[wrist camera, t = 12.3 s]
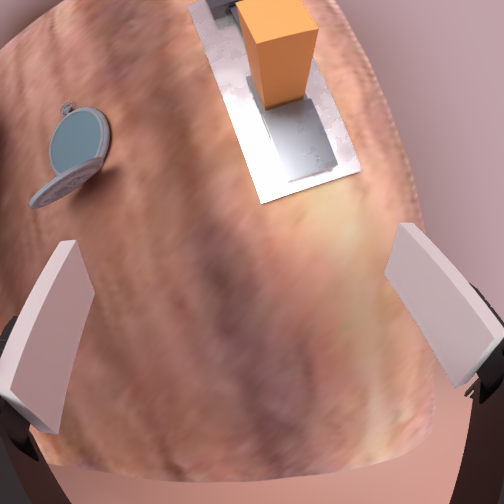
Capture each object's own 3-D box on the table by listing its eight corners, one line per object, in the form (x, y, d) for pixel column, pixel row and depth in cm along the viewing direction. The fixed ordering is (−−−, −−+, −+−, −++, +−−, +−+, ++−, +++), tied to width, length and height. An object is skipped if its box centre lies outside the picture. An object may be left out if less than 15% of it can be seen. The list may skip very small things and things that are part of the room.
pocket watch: (13, 218, 23) (-7, 109, 22) (72, 215, 34) (45, 125, 33) (76, 162, 22) (48, 52, 21) (131, 175, 33) (96, 83, 32)
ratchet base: (189, 11, 30) (180, -8, 25) (268, -13, 28) (267, -33, 24) (262, 203, 32) (259, 202, 27) (358, 172, 31) (370, 166, 26)
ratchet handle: (213, 7, 28) (184, -72, 13) (252, -4, 27) (239, -86, 13) (269, 138, 29) (262, 78, 15) (315, 124, 29) (343, 58, 14)
